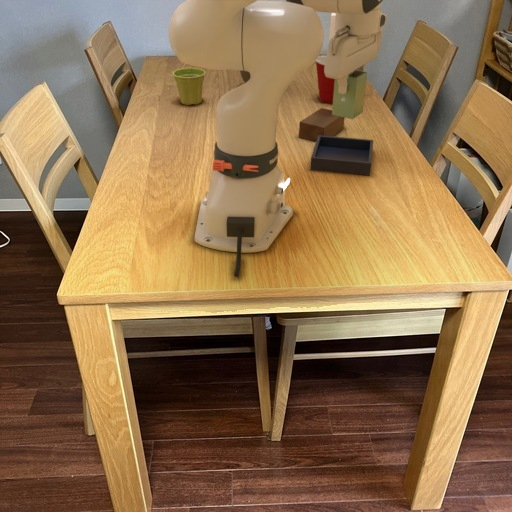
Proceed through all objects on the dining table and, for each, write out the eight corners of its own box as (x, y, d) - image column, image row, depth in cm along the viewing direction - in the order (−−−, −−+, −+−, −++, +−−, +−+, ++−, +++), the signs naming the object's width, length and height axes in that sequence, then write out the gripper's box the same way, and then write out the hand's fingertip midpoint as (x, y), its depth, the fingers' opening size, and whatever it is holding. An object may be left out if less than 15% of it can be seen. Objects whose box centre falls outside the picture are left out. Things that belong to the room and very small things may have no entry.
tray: (369, 176, 124) (371, 163, 123) (310, 170, 127) (311, 157, 125) (371, 151, 135) (373, 139, 133) (317, 146, 137) (318, 135, 136)
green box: (315, 91, 123) (347, 64, 116) (326, 84, 127) (357, 58, 119) (341, 128, 124) (374, 103, 117) (351, 120, 128) (383, 96, 120)
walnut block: (298, 137, 142) (299, 121, 140) (320, 122, 150) (321, 107, 148) (322, 143, 139) (324, 127, 137) (343, 128, 147) (345, 113, 145)
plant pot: (168, 104, 162) (165, 74, 157) (186, 94, 168) (184, 65, 163) (195, 109, 158) (193, 79, 153) (212, 99, 165) (211, 70, 160)
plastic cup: (355, 103, 163) (359, 62, 156) (322, 108, 160) (325, 66, 153) (337, 92, 171) (341, 52, 164) (305, 96, 168) (308, 55, 161)
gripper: (348, 34, 105) (341, 105, 113) (390, 14, 119) (381, 79, 127) (319, 29, 107) (314, 99, 115) (362, 11, 121) (355, 74, 129)
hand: (349, 88), depth 121 cm, fingers closed on green box, 5 cm apart
